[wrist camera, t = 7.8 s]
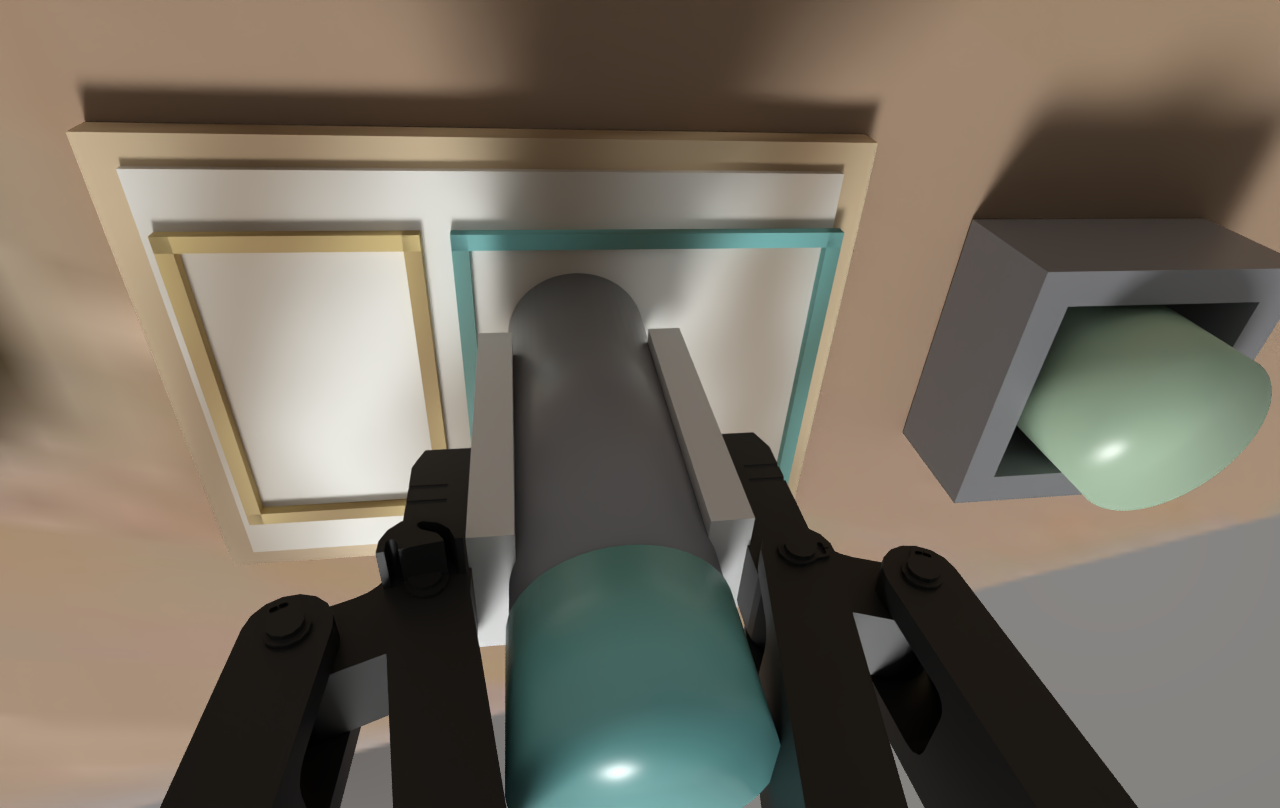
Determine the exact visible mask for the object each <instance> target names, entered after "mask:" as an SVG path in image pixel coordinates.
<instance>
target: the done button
mask: <svg viewBox="0 0 1280 808" xmlns="http://www.w3.org/2000/svg"><path fill="white" fill-rule="evenodd" d="M1271 396H1272V386H1271V382H1270V378H1269V376H1268V374H1267V372H1266V371H1265V369H1264V368H1263V367H1262V366H1261V365H1260V364H1258V363H1257V362H1255V361H1254V360H1252V359H1250V358H1249V357H1247V356H1246V355H1244V354H1242V353H1241V352H1239V351H1238V350H1236V349H1234V348H1233V347H1231V346H1230V345H1228V344H1226V343H1225V342H1223V341H1222V340H1220V339H1218V338H1217V337H1215V336H1214V335H1212V334H1210V333H1209V332H1207V331H1206V330H1204V329H1202V328H1201V327H1199V326H1198V325H1196V324H1194V323H1193V322H1191V321H1190V320H1188V319H1186V318H1185V317H1183V316H1182V315H1180V314H1178V313H1177V312H1175V311H1174V310H1172V309H1170V308H1169V307H1167V306H1166V305H1164V304H1159V305H1117V306H1075V307H1068V308H1067V310H1066V313H1065V315H1064V317H1063V319H1062V322H1061V324H1060V326H1059V329H1058V331H1057V333H1056V335H1055V338H1054V340H1053V342H1052V345H1051V347H1050V349H1049V352H1048V354H1047V356H1046V358H1045V361H1044V363H1043V365H1042V368H1041V370H1040V372H1039V375H1038V377H1037V379H1036V381H1035V384H1034V386H1033V388H1032V391H1031V393H1030V395H1029V397H1028V400H1027V402H1026V404H1025V407H1024V409H1023V411H1022V414H1021V416H1020V418H1019V420H1018V423H1017V426H1018V427H1019V428H1020V429H1021V431H1022V432H1023V433H1024V434H1025V435H1026V436H1027V437H1028V438H1029V439H1030V440H1031V441H1032V442H1033V443H1034V444H1035V445H1036V446H1037V447H1038V448H1039V449H1040V450H1041V451H1042V452H1043V454H1044V455H1045V456H1046V457H1047V458H1048V459H1049V460H1050V461H1051V462H1052V463H1053V464H1054V465H1055V466H1056V467H1057V468H1058V469H1059V470H1060V471H1061V472H1062V473H1063V474H1064V475H1065V476H1066V478H1067V479H1068V480H1069V481H1070V482H1071V483H1072V484H1073V485H1074V486H1075V487H1076V488H1077V489H1078V490H1079V491H1080V492H1081V493H1082V494H1083V495H1084V496H1085V497H1086V498H1087V499H1088V500H1089V501H1090V502H1092V503H1093V504H1095V505H1097V506H1099V507H1102V508H1106V509H1110V510H1119V511H1124V510H1137V509H1143V508H1148V507H1152V506H1155V505H1159V504H1162V503H1165V502H1167V501H1170V500H1173V499H1175V498H1177V497H1179V496H1182V495H1184V494H1186V493H1188V492H1190V491H1191V490H1193V489H1195V488H1197V487H1199V486H1200V485H1202V484H1203V483H1205V482H1206V481H1208V480H1210V479H1211V478H1212V477H1214V476H1215V475H1216V474H1218V473H1219V472H1220V471H1222V470H1223V469H1224V468H1225V467H1226V466H1228V465H1229V464H1230V463H1231V462H1232V461H1233V460H1234V459H1235V458H1236V457H1237V456H1238V455H1239V454H1240V453H1241V452H1242V451H1243V450H1244V449H1245V448H1246V446H1247V445H1248V444H1249V443H1250V442H1251V440H1252V439H1253V438H1254V436H1255V435H1256V434H1257V432H1258V430H1259V429H1260V427H1261V425H1262V424H1263V421H1264V419H1265V417H1266V415H1267V413H1268V410H1269V406H1270V403H1271Z"/></svg>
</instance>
